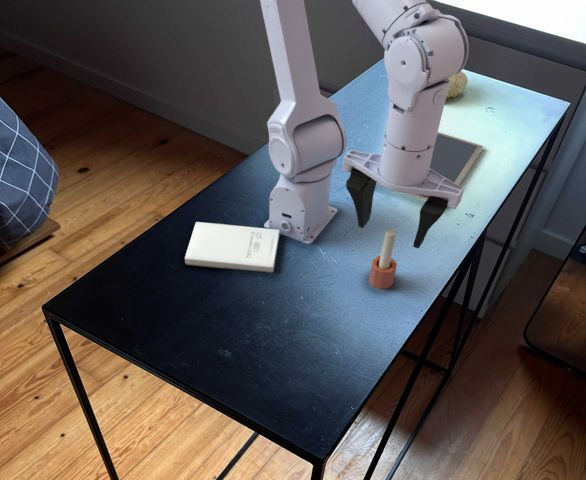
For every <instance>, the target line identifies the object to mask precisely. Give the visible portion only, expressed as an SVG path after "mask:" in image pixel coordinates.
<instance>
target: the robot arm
mask: <svg viewBox="0 0 586 480" xmlns="http://www.w3.org/2000/svg"><path fill="white" fill-rule="evenodd" d="M351 2H352V5H353V6H354V8H355V9H356V10H357V13H358V14H359V15H360V16H361V18H362V19H363V21H364V22H365V24H366V25H367V27H368V28H369V29H370V30H371V32H372V33H373V35H374V36H375V39H377V41H378V42H379V43H380V45H381V46H382V48H383V49H384V56H383V61H384V69H385V72H386V76H387V80H388V87H387V93H386V94H387V95H388V100H389V104H388V111H387V117H386V124H385V129H384V134H383V141H382V147H381V153H379V154H378V153H371V152H363V151H358V150H355V149H350V150H349V151H348V152H347V153H346V149H347V145H348V138H347V132H346V129H345V126H344V124H343V123H342V120H341V118H340V114H339V110H338V109H339V108H338V105H337V103H335V102H334V101H332V100H331V99H329V98H328V97H326V96H324V95H322V94H321V90H320V85H319V80H318V73H317V67H316V63H315V56H314V51H313V45H312V40H311V39H312V38H311V34H310V33H311V32H310V29H309V23H308V17H307V11H306V5H305V1H304V0H259V3H260V7H261V13H262V17H263V22H264V26H265V32H266V36H267V40H268V46H269V51H270V55H271V60H272V65H273V69H274V75H275V79H276V84H277V89H278V93H279V94H278V95H279V98H280V102H279V104H278V105H277V107H276V108H275V110H274V112H273V113H272V114H271V116H270V117H269V119H268V120H267V122H266V126H267V131H268V154H269V158H270V160H271V163H272V165H273V167H274V168H275V170H276V171H277V172H278V173H280V175H279V178H278V181H277V183H276V185H275V186H274V187H273V189H272V190H271V192H270V194H269V200H268V201H269V205H268V207H269V209H268V211H269V212H268V213H269V214H268V215H269V216H268V217H269V218H268V220H267V221H265V223H264V224H263V228H265V229H276V230H280V235H283V236H285V237H287V238H291V239H293V240H296V241H299V242H300V243H304V244H306V245H311V244H313V242H314V241H315V240H316V239H317V237H318V236H319V235H320V234H321V232H323V230H324V229H325V227H326V226H327V225H328V224H329V222H330V221H331V220H332V219H333V218H334V217H335V216H336V214H337V213H338V208H337V207H333V206H331V205H329V203H330V191H331V181H332V170H333V168H335V167H336V166H337V161H338V160H337V159H339V158H340V157H342V156H343V155H344V154H345V153H346V154H345V155H344V156H343V163H342V172H345V173H348V174H349V177H348V179H347V180H346V181H345V186H346V187H345V188H346V190H347V191H348V194H349V195H350V197H351V199H352V202H353V205H354V207H355V212H356V218H357V227H358V228H361V229H364V228H365V226H366V225H367V224H368V222H369V221H370V219H371V215H372V208H373V200H374V194H375V189H376V187H377V186H376V182H378V183H380V184H381V185H383V186H384V187H386V188H388V189H390V190H393V191H397V192H403V193H411V194H419V195H426V196H429V198H428V199H427V201H426V202H423V205H422V206H421V208H420V209H419V221H418V227H417V231H416V235H415V237H414V239H413V245H412V246H413V248H415V249H420V247H421V245H422V244H423V243H424V241H425V238H426V236H427V233H428V231H429V230H430V229H431V227H433V226H434V224H435V223H437V222H438V221H439V220H440V218H441V217H442V216H443V215H444V213H445V211H446V210H447V208H451V209H453V210H457V207H458V206H459V205H460V203H461V201H462V198H463V194H464V192H465V186H464V185H461V184H460V185H458V184H456V183H454V182H452V181H450V180H448V179H447V178H445V177H443V176H442V175H440V174H438V173H437V172H435V171H433V170H432V169H430V168H429V167H430V163H431V158H432V154H433V150H434V146H435V142H436V138H437V134H438V132H439V129H440V125H441V121H442V116H443V112H444V107H445V103H446V100H447V98H446V96H447V91H448V87H449V83H450V80H447V79H449V78H451V77H453V76H455V75H457V74H458V73H459V72H460V71H461V72H462V71H463V69H464V68H465V66H466V65H467V62H468V59H469V51H470V47H469V46H470V45H469V40H468V35H467V33H466V31H465V29H464V28H463V26H462V22H461V20H459V19H458V18H457V17H456V16H453V15H450V14H445V13H444V14H443V13H442V12H440V10H439V9H436V8H433V6H432V5H431V4H430V3H429V2H428V0H351ZM388 189H387V190H388ZM390 190H389V191H390ZM393 191H392V192H393Z"/></svg>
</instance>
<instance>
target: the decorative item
mask: <svg viewBox="0 0 586 480" xmlns="http://www.w3.org/2000/svg"><path fill="white" fill-rule="evenodd" d="M447 80H450V83H449V87H448V91H447V96H446V99H450V98H455V97H457V96H459V95H461V94H462V93H463V92H464V91H465V89H466V87H467V85H468V81H469V79H468V77H467V75H466V73H464V72H462V70H461V71H460V72H459V73H458V74H457V75H455V76H453V77H451V78H449V79H447Z"/></svg>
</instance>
